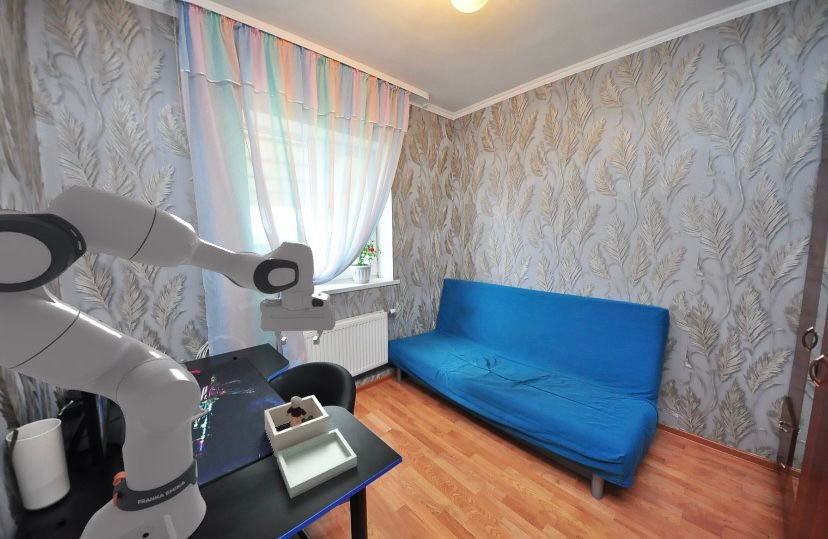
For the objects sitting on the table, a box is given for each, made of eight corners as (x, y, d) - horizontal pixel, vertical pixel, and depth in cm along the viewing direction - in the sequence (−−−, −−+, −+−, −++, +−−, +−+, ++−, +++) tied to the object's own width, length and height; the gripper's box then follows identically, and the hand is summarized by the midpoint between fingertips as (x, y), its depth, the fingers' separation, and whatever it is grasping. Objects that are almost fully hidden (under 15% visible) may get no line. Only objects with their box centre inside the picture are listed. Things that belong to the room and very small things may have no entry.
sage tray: (290, 498, 74) (290, 488, 73) (276, 461, 85) (276, 452, 84) (356, 465, 85) (356, 456, 84) (337, 436, 96) (337, 428, 95)
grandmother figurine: (282, 436, 95) (281, 400, 93) (287, 428, 99) (286, 393, 97) (306, 437, 95) (305, 400, 93) (310, 429, 99) (310, 393, 97)
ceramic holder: (275, 457, 86) (274, 435, 85) (265, 430, 97) (264, 410, 96) (328, 435, 96) (328, 415, 95) (313, 412, 107) (313, 394, 106)
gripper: (255, 301, 80) (258, 349, 83) (333, 301, 83) (333, 347, 85) (263, 295, 86) (266, 340, 89) (335, 295, 89) (336, 339, 92)
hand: (299, 344), depth 87 cm, fingers open, 8 cm apart
